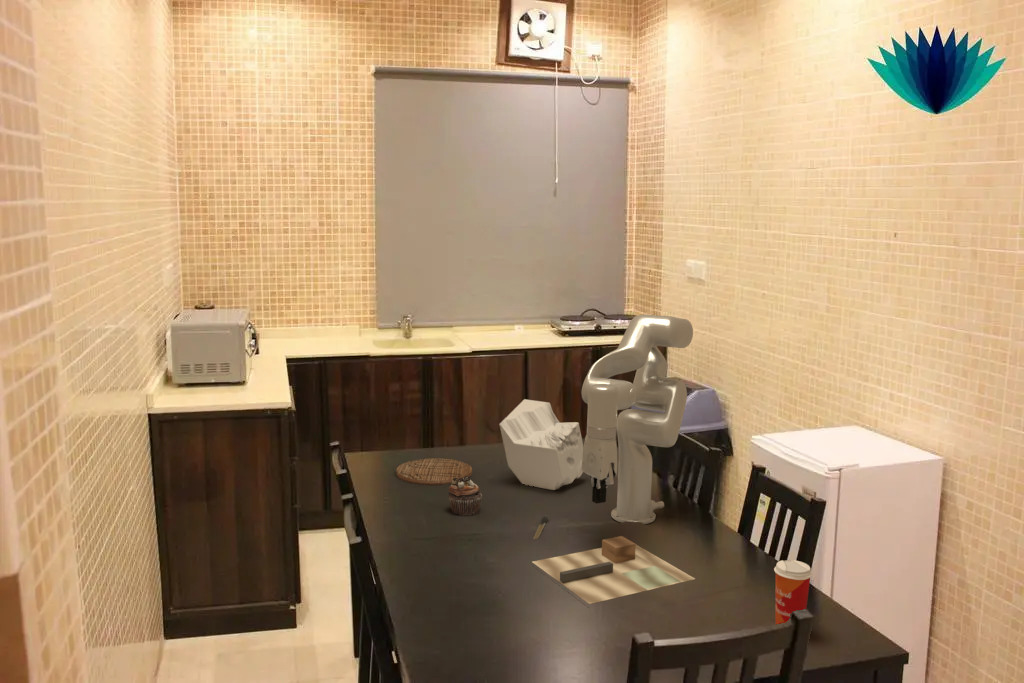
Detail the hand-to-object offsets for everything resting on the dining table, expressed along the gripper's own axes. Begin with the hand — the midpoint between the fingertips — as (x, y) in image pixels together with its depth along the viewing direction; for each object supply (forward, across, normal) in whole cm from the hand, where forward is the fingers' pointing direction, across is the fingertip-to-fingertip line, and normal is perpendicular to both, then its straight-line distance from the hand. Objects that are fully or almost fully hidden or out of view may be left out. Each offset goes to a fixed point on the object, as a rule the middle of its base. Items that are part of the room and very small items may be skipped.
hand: (598, 501), depth 227 cm
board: (+13, +14, -5) cm, 20 cm away
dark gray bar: (+12, +15, -13) cm, 23 cm away
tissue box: (+12, -52, +15) cm, 56 cm away
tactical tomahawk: (+13, -16, -7) cm, 22 cm away
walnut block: (+12, +9, +1) cm, 15 cm away
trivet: (+13, -78, -12) cm, 80 cm away
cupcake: (+13, -42, -18) cm, 47 cm away
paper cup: (+13, +54, +13) cm, 58 cm away
